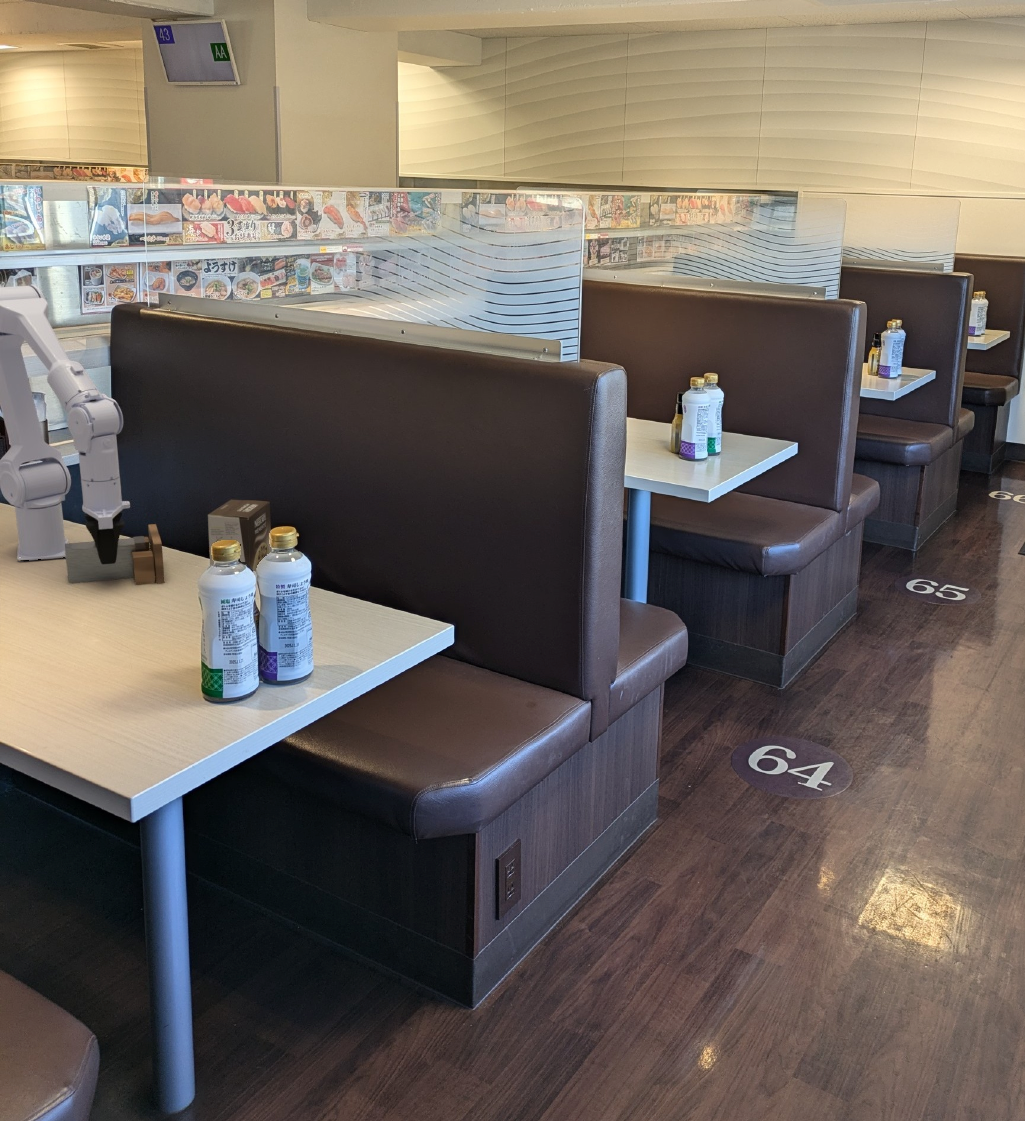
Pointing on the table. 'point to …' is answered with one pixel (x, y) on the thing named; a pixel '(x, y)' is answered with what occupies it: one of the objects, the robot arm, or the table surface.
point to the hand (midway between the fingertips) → (107, 559)
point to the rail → (88, 565)
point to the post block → (149, 560)
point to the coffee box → (242, 528)
